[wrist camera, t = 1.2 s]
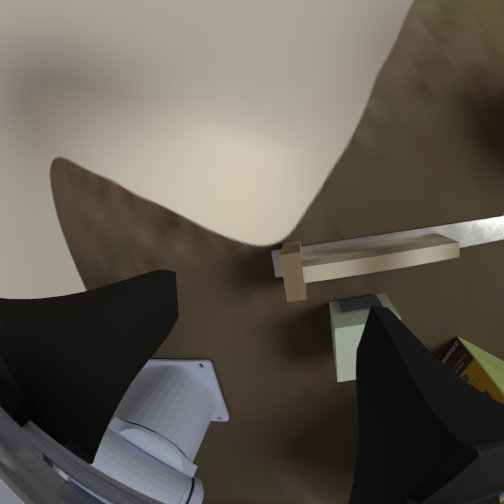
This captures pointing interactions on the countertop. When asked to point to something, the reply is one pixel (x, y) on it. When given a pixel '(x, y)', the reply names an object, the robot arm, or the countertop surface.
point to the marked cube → (351, 330)
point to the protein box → (477, 370)
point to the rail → (459, 231)
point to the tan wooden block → (359, 260)
